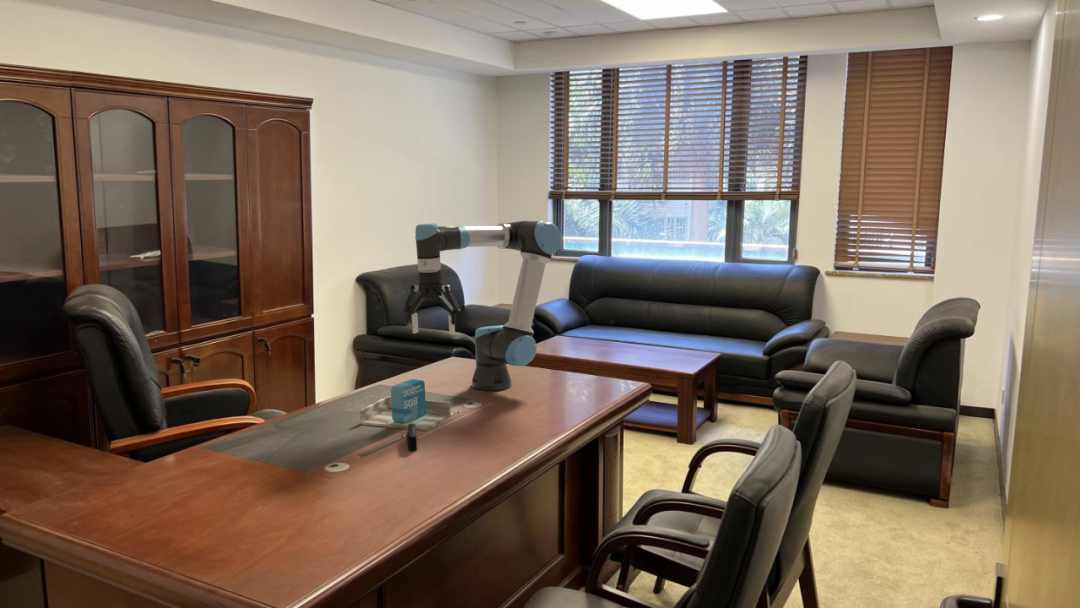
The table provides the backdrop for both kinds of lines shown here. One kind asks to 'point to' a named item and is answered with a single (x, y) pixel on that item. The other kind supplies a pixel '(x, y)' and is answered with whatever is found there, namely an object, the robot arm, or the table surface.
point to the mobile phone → (411, 437)
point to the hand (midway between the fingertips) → (433, 333)
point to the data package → (408, 400)
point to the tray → (382, 416)
